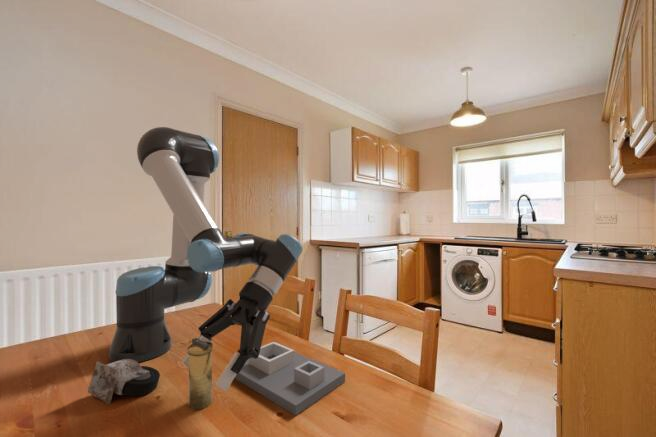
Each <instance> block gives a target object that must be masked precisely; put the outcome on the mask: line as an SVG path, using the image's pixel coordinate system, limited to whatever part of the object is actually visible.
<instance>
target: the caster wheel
mask: <svg viewBox="0 0 656 437" xmlns="http://www.w3.org/2000/svg"><path fill="white" fill-rule="evenodd" d="M91 376H92V377H91V379H90V381H89V386H88V388H87V393H88V394H90V395H92V396H94V397H95V398H97V399H99V400H100V401H103V402H105V403H106V404H111V402H112V399H113V394H115V395H119V396H124V395H127V396H134V397H135V396H143V395H144V396H145V395H147V394H151V393H152V392H154V391H155V390H156V389H157V387H158V384H159V380H160V376H161V373H160V371H159V370H157V369H156V368H154V367H152V366H147V365H141V364H140V362H137V361H135V360H132V359H123V360H119V361H116V362H110V363H107V364H104V363H102V362H100V361H96V362H95V366H94V369H93V372H92V375H91Z"/></svg>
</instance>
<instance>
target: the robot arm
mask: <svg viewBox="0 0 656 437" xmlns="http://www.w3.org/2000/svg"><path fill="white" fill-rule="evenodd" d="M136 154H137V160H138V162H139V165H140V167H141V169H142V170H143V171H144V173H145V174H146V175H148V176H150V177H151V178H153V181H154V182H155V185H156V186H157V188H158V189H159V192H160V193H161V194H162V196H163V198H164V200H165V202H166V203H167V205H168V206H169V209H170V211H171V212H172V214H173V216H172V233H171V234H172V236H171V251H170V252H171V254H170V257H169V258H168V259H167V260H165V266H163V267H162V266H160V265H157V266H156V265H155V266H154V265H152V266H145V267H139V268H136V269H131V270H128V271H126V272H123V273H122V274H121V275H119V276H118V278H117V280H116V289H115V297H116V298H115V302H116V304H115V306H116V329H115V332H114V335H113V338H112V341H111V344H110V346H109V349H108V358H109V361H110V362H111V363H113V362H116V361H119V360H123V359H132V360H135V361H137V362H138V363H141V362H145V361H149V360H153V359H155V358H158V357H159V356H161V355H164V354H165V353H167V352H168V351H169V350H170V349H171V347H172V338H171V335H170V332H169V328H168V327H167V324H166V321H165V310H166V309H169V308H173V307H177V306H180V305H183V304H187V303H192V302H195V301H197V300H200V299H202V298H204V297H205V296H206V295H207V294H208V293H209V291H210V289H211V287H212V282H213V277H212V273H211V272H214V273H215V272H217V271H219V270H224V269H229V268H236V267H239V266H240V267H242V266H245V265H255V266H257V267H256V268H255V270H254V271H253V272H252V274H251V275H250V276H249V278H248V281H247V282H245V284H244V285H243V287H242V288H241V290H240V291H239V292H238V296H239V299H238V301H236V302H235V301H234V300H232V299H231V298H230V299H228V300H227V302H225V303H224V304H223V306H222V307H221V308H220V309H218V310H217V311H216V312H215V313H214V314H213V315H211V316H210V317H209V318H208V319H207V320H205V321H204V322H203V323H202V324H201V325H200V326H199V327H198V331H199V333H200V336H199V337H198V339H200V340H202V341H208V342H211V343H212V340H213V339H212V338H214V337H216V336H217V335H218V334H220V333H222V332H223V331H224V330H226V329H227V328H229V327H231V326H235V325H237V326H241V329H240V330H241V332H240V344H239V349H238V350H237V351H235V352H234V354H233V356H232V357H231V358H230V360H229V361H228V363H227V365H226V367H225V368H224V369H223V371H222V372H221V374H220V375H219V377H218V379H217V380H216V382H215V383H214V385H215V386H217V387H218V388H219V389H221V390H223V391H224V392H227V391H228V389H229V388H230V386H231V384H232V383H233V381H234V379H235V376H236V375H237V374H238V373H239V372H240V371H241V369H242V368H243V366H244V364H245V363H246V361H247V360H248V359H250V358H255V359H256V358H258V356H259V353H260V348H261V347H262V344H263V339H264V335H265V330H266V325H267V323H268V321H269V320H270V317H271V315H270V314H269V313H268V312H267V311H266V310H267V309H268V307H269V306H270V304H271V303H272V301H273V297H275V296H276V294H277V293H278V291H279V290H280V289H281V287H282V285H283V284H284V282H285V280H286V279H287V276H288V275H289V273H290V272H291V271H292V269H293V267H295V265H296V264H297V263H298V260H299V258H300V256H301V254H302V252H303V245H302V244H301V242H300V241H299V240H298V239H297V238H296V237H294V236H293V235H290V234H289V233H288V234H287V233H284V234H280V235H279V236H278V237H277V238H276V240H272V239H269V238H264V237H261V236H257V235H255V234H253V233H245V232H240V233H238V234H236V235H235V236H231V237H225V235H224V233H222V230H221V229H220V228H219V226H218V224H217V223H216V221H215V219H214V217H213V216H212V214H211V213H210V211H209V210H208V208H207V207H206V205H205V203H204V198H205V197H204V196H205V184H206V183H207V182H208V181H210V179H211V178H210V177H211V174H213V173H215V172H216V171H217V168H218V166H219V163H220V162H219V161H220V157H219V156H220V155H219V150H218V147H217V146H216V145H215V144H214V142H213V141H212V140H211V139H209V138H207V137H203V136H202V135H199V134H194V133H189V132H186V131H183V130H179V129H174V128H171V127H167V126H159V127H158V126H157V127H153V128H151V129H149V130H148V131H146V132H145V133H144V134H143V135H142V136H141V137H140V138H139V141H138V144H137V148H136ZM181 363H182V364H183V365H184V366H186V367H188V368H189V354H188V353H187V354H186V356H185V357H184V358H183V359H182V361H181Z"/></svg>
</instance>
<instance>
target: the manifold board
mask: <svg viewBox="0 0 656 437" xmlns="http://www.w3.org/2000/svg"><path fill="white" fill-rule="evenodd" d="M234 379H235V380H236V381H238V382H240V383H242V384H243V385H245V386H246V387H248V388H250V389H251V390H253V391H254V392H256V393H258V394H260V395H261V396H263V397H264V398H266V399H267V400H269V401H271V402H273V403H275V404H276V405H278V406H279V407H281V408H282V409H285V410H286V411H287V412H289V413H291V414H293V415H294V416H298V415H299V414H301V413H302V412H303V411H305V410H306V409H308V408H309V407H311V405H314V404H315V403H316V402H318V401H319V400H320V399H322V398H323V397H325V396H326V395H328V394H329V393H331V392H332V391H333V390H335V389H336V388H338V387H340V386H341V385H342V384H344V383H345V382H346V372H344V371H341V370H339V369H337V368H334V367H332V366H329V365H327V364H324V363H322V362H320V361H317V360H315V359H313V358H310V357H309V356H306V355H303V354H301V353H298V352H295V349H292V348H290V347H288V346H285V345H282V344H280V343H278V342H275V341H272V342H269V343H267V344H265V345H261V348H260V353H259V356H258V358H256V359H255V358H250V359H248V360H247V361H246V363H245V364H244V366H243V368H242V369H241V371H240V372H239V373H238V374H237V375H236V376H235V378H234Z"/></svg>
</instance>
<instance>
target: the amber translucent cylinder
mask: <svg viewBox="0 0 656 437" xmlns="http://www.w3.org/2000/svg"><path fill="white" fill-rule="evenodd" d="M198 338H199V337H198ZM198 338H197V337H195V338H192V339H191V343H192V344H190V345H189V346H188V347H187V354H189V367H188V408H189V409H191V410H192V411H193V410H194V411H200V410H204V409H206V408H207V407H209V406H211V404H212V403H213V382H212V381H213V358H212V357H213V354H212V352H213V349H214V345H213V343H212V341H211V342H208V341H202V340H200V339H198Z"/></svg>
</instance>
